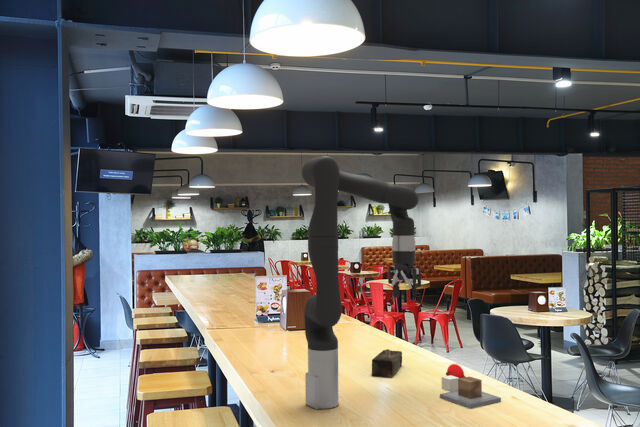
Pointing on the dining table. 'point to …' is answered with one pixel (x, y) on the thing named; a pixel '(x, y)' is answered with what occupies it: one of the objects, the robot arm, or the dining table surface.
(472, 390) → the walnut block
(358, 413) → the dining table surface
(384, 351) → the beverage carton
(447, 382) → the cream block
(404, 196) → the robot arm
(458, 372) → the red rounded lumpy piece
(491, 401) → the plate
